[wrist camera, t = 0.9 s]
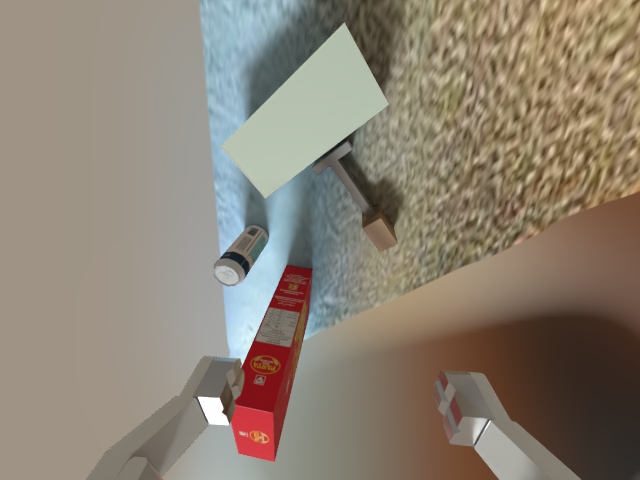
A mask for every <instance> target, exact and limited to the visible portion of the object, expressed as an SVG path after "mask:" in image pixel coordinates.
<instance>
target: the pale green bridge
mask: <svg viewBox="0 0 640 480" xmlns="http://www.w3.org/2000/svg"><path fill="white" fill-rule="evenodd" d="M388 105H389V104H388V102H387V100H386V98H385V97H384V95H383V93H382V91H381V89H380V87H379V85H378V84H377V82H376V80H375V78H374V76H373V74H372V73H371V71H370V69H369V67H368V65H367V63H366V61H365V60H364V58H363V56H362V54H361V52H360V50H359V48H358V47H357V45H356V43H355V41H354V39H353V37H352V36H351V34H350V32H349V30H348V28H347V26H346V24H345V23H343V24H342V25H341V26H340V27H339V28H338V29H337V30H336V31H335V32H334V33H333V34H332V35H331V36H330V37H329V38H328V39H327V40H326V41H325V42H324V43H323V44H322V45H321V46H320V47H319V48H318V49H317V50H316V51H315V52H314V53H313V54H312V55H311V56H310V57H309V58H308V59H307V60H306V61H305V62H304V63H303V64H302V65H301V66H300V67H299V68H298V69H297V70H296V71H295V73H294V74H293V75H292V76H291V77H290V78H289V79H288V80H287V81H286V82H285V83H284V84H283V85H282V86H281V87H280V88H279V89H278V90H277V91H276V92H275V93H274V94H273V95H272V96H271V97H270V98H269V99H268V100H267V101H266V102H265V103H264V104H263V105H262V106H261V107H260V108H259V109H258V110H257V111H256V112H255V113H254V114H253V115H252V116H251V117H250V118H249V119H248V120H247V121H246V122H245V123H244V124H243V125H242V126H241V127H240V128H239V129H238V130H237V131H236V132H235V133H234V134H233V135H232V136H231V137H230V138H229V139H228V140H227V141H226V142H225V143H224V144H223V145H222V146H221V148H222V149H223V150H224V151H225V152H226V153H227V155H228V156H229V157H230V158H231V159H232V160H233V162H234V163H235V164H236V165H237V166H238V167H239V169H240V170H241V171H242V172H243V173H244V174H245V176H246V177H247V178H248V179H249V180H250V181H251V183H252V184H253V185H254V186H255V187H256V188H257V190H258V191H259V192H260V193H261V194H262V195H263V197H264V198H267V197H268V196H269V195H271V194H272V193H273V192H275V191H276V190H277V189H279V188H280V187H281V186H282V185H284V184H285V183H286V182H288V181H289V180H290V179H292V178H293V177H294V176H296V175H297V174H298V173H300V172H301V171H302V170H303V169H305V168H306V167H307V166H309V165H310V164H311V163H313V162H314V161H315V160H317V159H318V158H319V157H321V156H322V155H323V154H324V153H326V152H327V151H328V150H330V149H331V148H332V147H334V146H335V145H336V144H338V143H339V142H340V141H342V140H343V139H344V138H345V137H347V136H348V135H349V134H351V133H352V132H353V131H355V130H356V129H357V128H359V127H360V126H361V125H363V124H364V123H365V122H366V121H368V120H369V119H370V118H372V117H373V116H374V115H376V114H377V113H378V112H380V111H381V110H382V109H384V108H385V107H386V106H388Z"/></svg>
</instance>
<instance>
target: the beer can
mask: <svg viewBox="0 0 640 480" xmlns="http://www.w3.org/2000/svg"><path fill="white" fill-rule="evenodd" d="M267 243H268V235H267V233H266V231H265V230H264V229H263V228H261V227H259V226H256V225H250V226H248V227H246V228H245V230H244V231H243V232H242V234H241V235H240V236H239V237H238V238H237V239H236V240H235V242H234V243H233V244H232V245H231V246H230V247H229V249H228V250H227V251H226V252H225V253H224V254H223V255H222V257H221V258H220V259H219V260H218V261H216V263H215V264H214V271H213V272H214V277H215V278H216V279H217V281H218V282H219V283H221V284H223V285H225V286H235V285H237V284H240V283H241V282H243V280H244V279H245V277H246V275H247V274H248V272H249V271H250V269H251V268H252V266H253V264H254V263H255V261H256V260H257V258H258V257H259V255H260V254H261V252H262V250H263V249H264V247H265V246H266V244H267Z"/></svg>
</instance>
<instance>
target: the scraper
mask: <svg viewBox="0 0 640 480" xmlns="http://www.w3.org/2000/svg"><path fill="white" fill-rule="evenodd" d="M352 147H353V146H352V144H351V143H350V141H349V140H348V139H347V140H346V141H345V142H343V143H342V144H341V145H339V146H338V147H337V148H335V149H334V150H333V151H331V152H330V153H329V154H327V155H326V156H325V157H323V158H322V159H321V160H319V161H318V162H317V163H315V165H314V166H313V167H312V168H313V170H314V171H315V173H316V174H317V175H318V174H319V173H320V172H322V171H323V170H325V169H326V168H327V167H329V166H330V165H331V166H332V168H333V169H334V171H335V172H336V174H337V175H338V176H339V178H340V179H341V181H342V182H343V184H344V185H345V187H346V188H347V189H348V191H349V192H350V194H351V195H352V197H353V198H354V199H355V201H356V202H357V204H358V205H359V207H360V208H361V210H362V211H363V212H364V213H363V214H362V227H363V230H364V231H365V232H366V234H367V235H368V237H369V238H370V239H371V241H372V242H373V244H374V245H375V246H376V248H377V249H378V251H379V252H382V251H384V250H386V249H388V248H390V247H392V246H394V245H396V244H398V242H397V239H396V235H395V231H394V228H393V226H392V225H391V223H390V222H389V220H388V219H387V217H386V216H385V214H384V212H383V211H382V209H381V208H380V206H379V205H377V206H375V207H374V208H373V206H372V205H371V203H370V202H369V200H368V199H367V197H366V196H365V194H364V193H363V191H362V190H361V188H360V187H359V185H358V184H357V182H356V181H355V179H354V178H353V176H352V175H351V174H350V172H349V171H348V169H347V168H346V166H345V165H344V163H343V162H342V160H341V159H340V158H341V157H342V156H344V155H345V154H347V153H348V152H349V151H351V150H352Z"/></svg>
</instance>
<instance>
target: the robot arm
mask: <svg viewBox="0 0 640 480" xmlns="http://www.w3.org/2000/svg"><path fill="white" fill-rule="evenodd" d="M241 364H242V363H241V360H240V358H226V357H214V356H204V357H203V358H202V359H201V360H200V361H199V363H198V365H197V366H196V368H195V370H194V371H193V373H192V375H191V377H190V378H189V380H188V382H187V383H186V385H185V387H184V389H183V391H182V392H181V394H180V396H175V397H174V398H172V399H171V400H170V401H169V402H168V403H166V404H165V405H164V406H162V407H161V408H160V409H159V410H157V411H156V412H155V413H154V414H152V415H151V416H150V417H149V418H147V419H146V420H145V421H144V422H142V423H141V424H140V425H139V426H138V427H136V428H135V429H134V430H132V431H131V432H130V433H129V434H127V435H126V436H125V437H124V438H122V439H121V440H120V441H119V442H118V443H116V444H115V445H114V446H112V447H111V448H110V449H109V450H107V451H106V452H105V453H104V455H103V456H102V458H101V459H100V460H99V462H98V463H97V465H96V466H95V468H94V469H93V470H92V472H91V473H90V475H89V476H88V478H87V479H86V480H163V479H162V477H163V476H164V475H165V473H166V472H167V471H168V470H169V469H170V468H171V467H172V466H173V464H174V463H175V462H176V461H177V460H178V459H179V458H180V457H181V455H182V454H183V453H184V452H185V451H186V450H187V449H188V448H189V447H190V446H191V444H192V443H193V442H194V441H195V440H196V439H197V438H198V437H199V435H200V434H201V433H202V432H203V431H204V430H205V429H206V428H207V427H208V424H219V425H230V422H231V419H232V417H233V414H234V411H235V408H236V404H235V399H237V398H238V397H239V396H240V395H241V392H242V389H243V384H244V370H242V369H241V368H240V367H241ZM438 377H439V380H440V381H438V382H436V383H435V387H434V396H435V401H436V405H437V408H438V410H439V411H440V412H441V413H442V414H443V415H444V420H443V422H442V423H443V426H444V429H445V432H446V435H447V438H448V440H449V443H450V444H456V445H465V446H474V449H475V450H476V451H477V452H478V454H479V455H480V456H481V457H482V458H483V460H484V461H485V462H486V463H487V465H488V466H489V467H490V468H491V470H492V471H493V472H494V473H495V474H496V476H497V477H498V478H499V480H581V479H580V478H579V477H578V476H577V475H575V474H574V473H573V472H572V471H571V470H570V469H569V468H567V467H566V466H565V465H564V464H563V463H562V462H561V461H559V460H558V459H557V458H556V457H555V456H554V455H552V453H550V452H549V451H548V450H547V449H546V448H545V447H543V446H542V445H541V444H540V443H539V442H538V441H537V440H536V439H534V438H533V437H532V436H531V435H530V434H529V433H528V432H526V431H525V430H524V429H523V428H522V427H521V426H520V425H519V424H517V423H516V422H513V421H511V420H510V418H509V417H508V415H507V413H506V411H505V410H504V408H503V406H502V404H501V403H500V401H499V399H498V398H497V396H496V394H495V392H494V390H493V389H492V387H491V385H490V383H489V381H488V380H487V378H486V376H485V375H484V374H482V373H474V372H473V373H472V372H460V371H440V372H439V375H438Z"/></svg>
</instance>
